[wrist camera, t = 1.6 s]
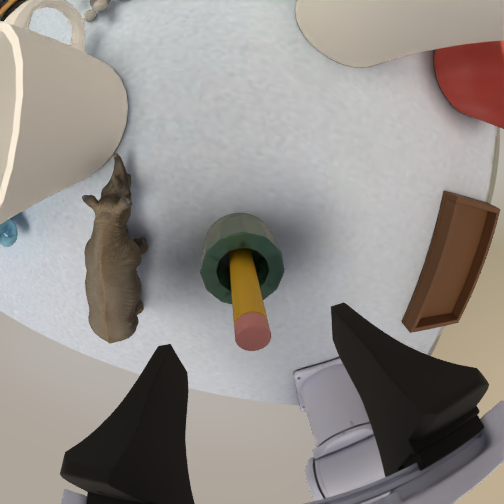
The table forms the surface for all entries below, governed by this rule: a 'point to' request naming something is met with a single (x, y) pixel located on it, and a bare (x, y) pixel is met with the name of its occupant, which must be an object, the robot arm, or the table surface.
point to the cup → (396, 27)
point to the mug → (52, 110)
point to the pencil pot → (234, 237)
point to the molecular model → (95, 8)
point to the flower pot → (473, 79)
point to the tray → (452, 262)
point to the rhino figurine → (113, 261)
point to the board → (5, 5)
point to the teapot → (8, 233)
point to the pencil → (247, 302)
